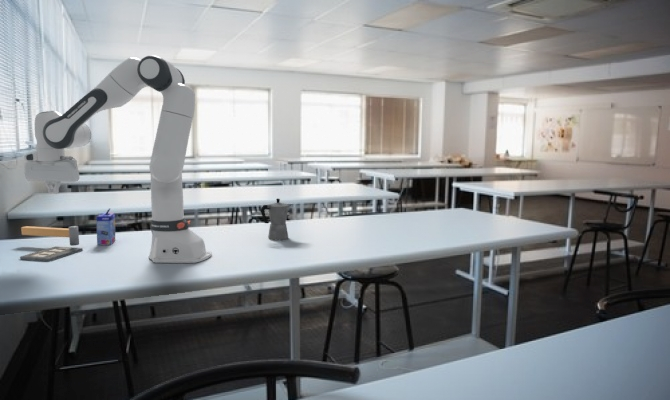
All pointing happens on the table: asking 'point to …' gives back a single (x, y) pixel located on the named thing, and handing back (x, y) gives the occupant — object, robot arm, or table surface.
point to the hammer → (54, 232)
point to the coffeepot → (277, 220)
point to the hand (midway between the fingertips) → (53, 193)
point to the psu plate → (51, 253)
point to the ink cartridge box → (105, 228)
